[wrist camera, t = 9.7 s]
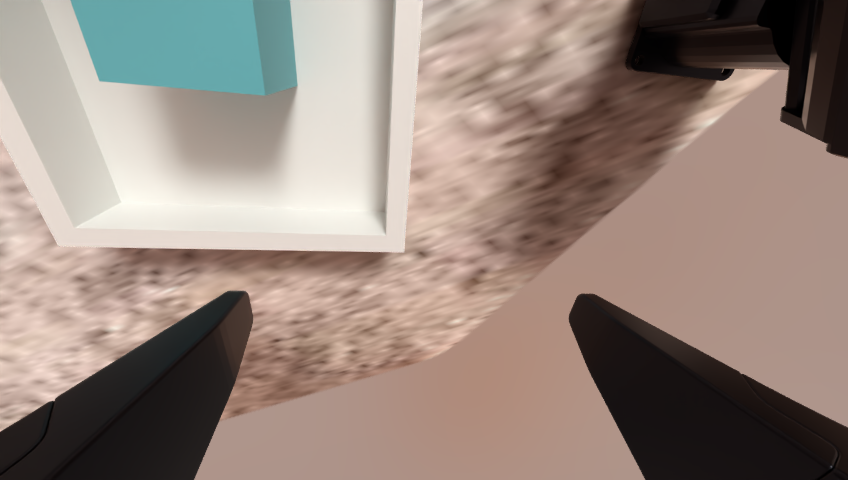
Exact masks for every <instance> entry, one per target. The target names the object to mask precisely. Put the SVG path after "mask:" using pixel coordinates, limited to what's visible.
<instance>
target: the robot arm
mask: <svg viewBox="0 0 848 480" xmlns="http://www.w3.org/2000/svg"><path fill="white" fill-rule="evenodd" d="M637 56H639V61H638V63H637V64H635V60H636V58H637ZM626 67H627V69H629V70H631V71H640V72H648V73H657V74H665V75H674V76H682V77H690V78H699V79H707V80H717V81H723V80H726V79H728V78H729V77H730V76H731V75H732V73H733V71H734V69H771V70H789V72H788V82H787V91H786V101H785V106H784V107H782V109H781V117H780V121H781V122H783V123H786V124H788V125H790V126H792V127H794V128H796V129H798V130H800V131H802V132H804V133H806V134H808V135H810V136H812V137H814V138H816V139H818V140H820V141H822V142H824V143H827V147H826V151H827V152H829V153H831V154H833V155H836V156H840V157H844V158H848V0H646V3H645V6H644V9H643V11H642V14H641V17H640V20H639V25H638V28H637V30H636V33H635V36H634V39H633V42H632V45H631V48H630V50H629V53H628V56H627V59H626ZM723 68H724V70H723ZM722 70H723V72H722ZM721 72H722V73H721ZM569 323H570V326H571V328H572V331H573V333H574V335H575V338H576V340H577V343H578V345H579V348H580V350H581V353H582V355H583V358H584V360H585V363H586V365H587V367H588V370H589V372H590V373H591V376H592V378H593V380H594V382H595V384H596V386H597V388H598V390H599V391H600V393H601V395H602V397H603V399H604V401H605V403H606V405H607V406H608V409H609V411H610V413H611V415H612V416H613V418H614V420H615V422H616V424H617V426H618V428H619V430H620V432H621V434H622V436H623V438H624V439H625V441H626V443H627V445H628V447H629V449H630V451H631V453H632V455H633V457H634V459H635V460H636V462H637V465H638V466H639V468H640V470H641V472H642V474H643V476H644V478H645V480H848V427H846V426H844V425H842V424H839V423H837V422H836V421H834V420H831V419H829V418H827V417H825V416H823V415H821V414H819V413H817V412H815V411H813V410H811V409H809V408H808V407H805V406H804V405H802V404H799V403H797V402H795V401H793V400H792V399H790V398H788V397H786V396H784V395H782V394H780V393H778V392H776V391H774V390H773V389H771V388H769V387H766V386H765V385H763V384H761V383H759V382H757V381H756V380H754V379H752V378H750V377H748V376H746V375H744V374H741V373H740V372H739V371H737V370H735V369H733V368H731V367H729V366H727V365H725V364H724V363H722V362H720V361H718V360H716V359H714V358H712V357H711V356H709V355H707V354H705V353H703V352H701V351H700V350H698V349H696V348H694V347H692V346H690V345H688V344H686V343H684V342H683V341H681V340H679V339H677V338H675V337H673V336H671V335H670V334H668V333H666V332H664V331H662V330H660V329H658V328H657V327H655V326H653V325H651V324H649V323H647V322H645V321H644V320H642V319H640V318H638V317H636V316H634V315H632V314H631V313H629V312H627V311H625V310H623V309H621V308H619V307H617V306H616V305H613V304H612V303H610V302H608V301H606V300H604V299H603V298H601V297H599V296H597V295H595V294H580V295H578V296H577V298H576V300H575V303H574V305H573V307H572V309H571V312H570V314H569ZM252 324H253V314H252V309H251V304H250V299H249V295H248V293H247V292H246V291H227V292H225V293H224V294H222V295H221V296H219V297H217V298H216V299H214V300H212V301H211V302H209V303H208V304H206V305H204V306H203V307H201V308H200V309H198V310H196V311H195V312H193V313H192V314H190V315H188V316H187V317H185V318H183V319H182V320H180V321H179V322H177V323H175V324H174V325H172V326H171V327H169V328H167V329H166V330H164V331H163V332H161V333H159V334H158V335H156V336H154V337H153V338H151V339H150V340H148V341H146V342H145V343H143V344H142V345H140V346H138V347H137V348H135V349H134V350H132V351H130V352H129V353H127V354H126V355H124V356H122V357H121V358H119V359H117V360H116V361H114V362H113V363H111V364H109V365H108V366H106V367H105V368H103V369H101V370H100V371H98V372H97V373H95V374H93V375H92V376H90V377H88V378H87V379H85V380H84V381H82V382H80V383H79V384H77V385H76V386H74V387H72V388H71V389H69V390H67V391H66V392H64V393H63V394H61V395H59V396H58V397H57V398H56V399H55V401H50V402H48V403H46V404H45V405H43V406H42V407H40V408H38V409H37V410H35V411H33V412H32V413H30V414H29V415H27V416H25V417H24V418H22V419H21V420H19V421H17V422H16V423H14V424H12V425H11V426H9V427H7V428H6V429H4V430H2V431H1V432H0V480H194V478H195V476H196V474H197V471H198V469H199V467H200V464H201V462H202V460H203V457H204V455H205V452H206V450H207V448H208V446H209V443H210V441H211V439H212V436H213V434H214V431H215V429H216V427H217V424H218V422H219V420H220V417H221V415H222V413H223V410H224V408H225V406H226V403H227V401H228V399H229V396H230V394H231V391H232V389H233V386H234V384H235V381H236V378H237V375H238V372H239V368H240V365H241V362H242V358H243V355H244V351H245V348H246V345H247V341H248V338H249V335H250V331H251V328H252Z"/></svg>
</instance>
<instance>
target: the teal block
mask: <svg viewBox="0 0 848 480" xmlns="http://www.w3.org/2000/svg"><path fill="white" fill-rule="evenodd" d="M70 1H71V4H72V7H73V9H74V12H75V15H76V18H77V20H78V23H79V26H80V29H81V32H82V34H83V37H84V40H85V43H86V45H87V48H88V51H89V54H90V57H91V59H92V62H93V65H94V68H95V70H96V73H97V76H98V79H99V81H102V82H113V83H125V84H136V85H148V86H160V87H171V88H183V89H194V90H206V91H218V92H229V93H241V94H252V95H264V96H266V95H269V94H272V93H276V92H279V91H282V90H286V89H289V88H292V87H296V86H298V84H297V73H296V62H295V50H294V39H293V28H292V17H291V6H290V0H70Z"/></svg>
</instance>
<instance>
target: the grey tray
mask: <svg viewBox="0 0 848 480" xmlns="http://www.w3.org/2000/svg"><path fill="white" fill-rule="evenodd" d="M290 6H291V17H292V28H293V39H294V50H295V62H296V73H297V84H298V86H296V87H292V88H289V89H286V90H282V91H279V92H276V93H272V94H269V95H266V96H264V95H252V94H241V93H229V92H218V91H206V90H194V89H183V88H171V87H160V86H148V85H136V84H125V83H113V82H102V81H99V79H98V76H97V73H96V70H95V68H94V65H93V62H92V59H91V57H90V54H89V51H88V48H87V45H86V43H85V40H84V37H83V34H82V32H81V29H80V26H79V23H78V20H77V18H76V15H75V12H74V9H73V7H72V4H71V1H70V0H0V138H1V140H2V142H3V144H4V145H5V147H6V149H7V151H8V153H9V155H10V157H11V159H12V160H13V162H14V164H15V166H16V168H17V170H18V172H19V173H20V175H21V177H22V179H23V181H24V183H25V185H26V186H27V188H28V190H29V192H30V194H31V196H32V198H33V200H34V201H35V203H36V205H37V207H38V209H39V211H40V213H41V214H42V216H43V218H44V220H45V222H46V224H47V226H48V227H49V229H50V231H51V233H52V235H53V237H54V239H55V241H56V242H57V244H58V246H59V247H111V248H171V249H232V250H292V251H352V252H404V247H405V234H406V221H407V207H408V194H409V181H410V168H411V154H412V141H413V128H414V115H415V101H416V88H417V75H418V62H419V48H420V35H421V22H422V9H423V0H290Z"/></svg>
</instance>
